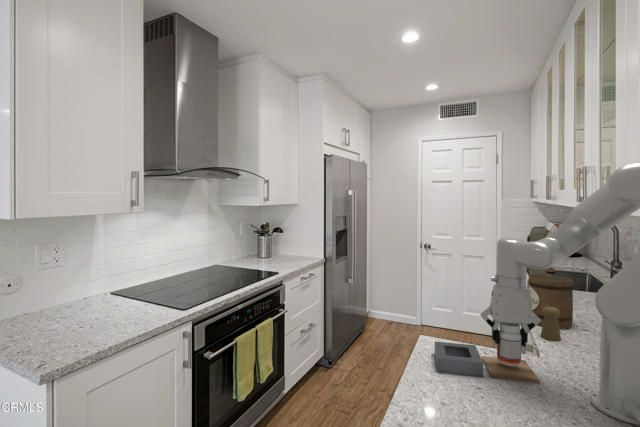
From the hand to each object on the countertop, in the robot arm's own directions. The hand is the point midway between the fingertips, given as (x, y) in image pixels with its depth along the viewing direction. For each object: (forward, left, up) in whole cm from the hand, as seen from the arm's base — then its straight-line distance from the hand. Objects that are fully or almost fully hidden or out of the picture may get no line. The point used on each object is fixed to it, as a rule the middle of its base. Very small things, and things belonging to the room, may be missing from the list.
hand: (509, 342), depth 99 cm
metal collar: (0, +14, -8) cm, 16 cm away
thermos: (+89, -37, -8) cm, 96 cm away
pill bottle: (0, 0, -6) cm, 6 cm away
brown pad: (0, 0, -8) cm, 8 cm away
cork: (+29, -21, -8) cm, 37 cm away
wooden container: (+46, -27, -8) cm, 54 cm away
